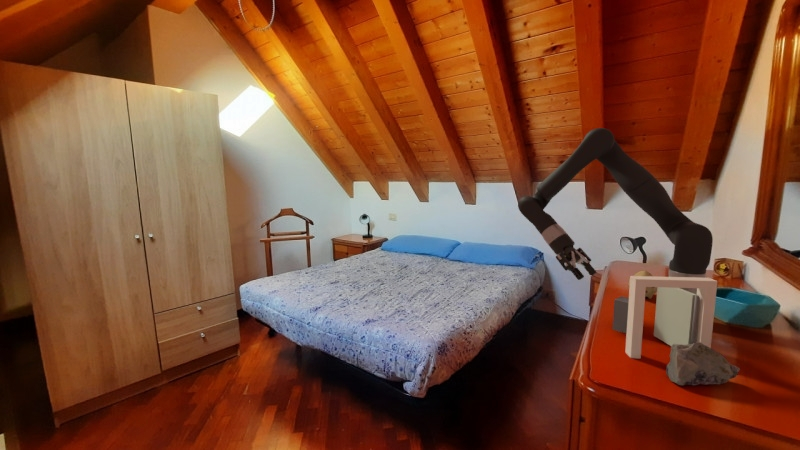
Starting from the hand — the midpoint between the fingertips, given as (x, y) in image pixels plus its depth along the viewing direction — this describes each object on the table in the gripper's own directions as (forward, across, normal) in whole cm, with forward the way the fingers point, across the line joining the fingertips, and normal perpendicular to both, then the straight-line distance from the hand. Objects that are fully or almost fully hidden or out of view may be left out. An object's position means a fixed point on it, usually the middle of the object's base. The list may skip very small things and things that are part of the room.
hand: (588, 276), depth 113 cm
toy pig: (+13, +38, +8) cm, 41 cm away
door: (+28, -1, -8) cm, 29 cm away
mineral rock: (+35, -16, -14) cm, 41 cm away
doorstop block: (+19, 0, +2) cm, 19 cm away
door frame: (+29, -10, -8) cm, 31 cm away
